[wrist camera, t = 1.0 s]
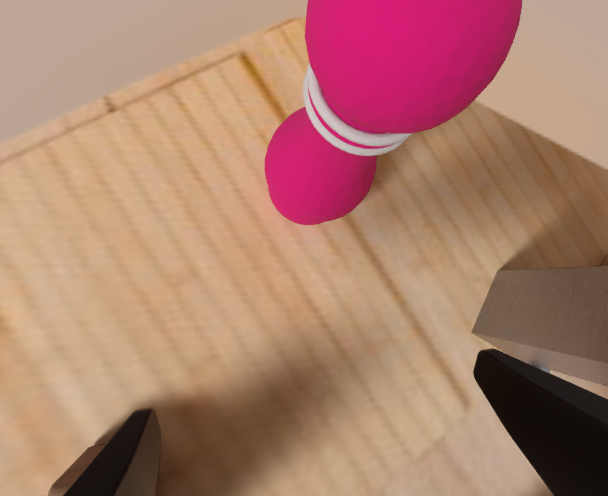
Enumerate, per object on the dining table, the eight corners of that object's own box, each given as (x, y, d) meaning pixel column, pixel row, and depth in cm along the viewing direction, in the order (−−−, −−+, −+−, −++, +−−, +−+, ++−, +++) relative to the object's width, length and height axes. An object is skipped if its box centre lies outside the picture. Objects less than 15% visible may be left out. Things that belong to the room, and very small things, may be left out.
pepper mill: (337, 243, 25) (672, 97, 5) (249, 214, 24) (256, -99, 4) (359, 161, 26) (706, -213, 6) (277, 131, 25) (383, -426, 5)
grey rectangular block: (518, 360, 26) (717, 418, 15) (471, 332, 26) (641, 371, 15) (541, 298, 28) (744, 310, 16) (497, 270, 27) (674, 262, 16)
